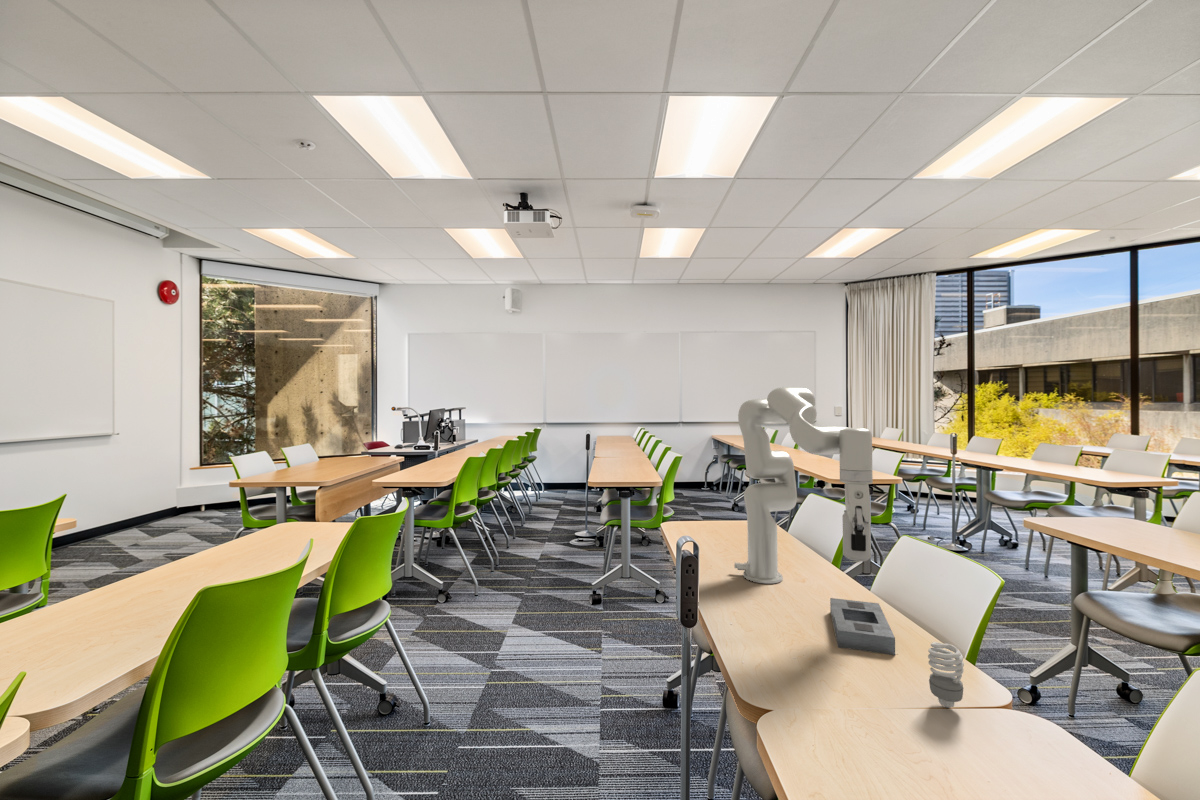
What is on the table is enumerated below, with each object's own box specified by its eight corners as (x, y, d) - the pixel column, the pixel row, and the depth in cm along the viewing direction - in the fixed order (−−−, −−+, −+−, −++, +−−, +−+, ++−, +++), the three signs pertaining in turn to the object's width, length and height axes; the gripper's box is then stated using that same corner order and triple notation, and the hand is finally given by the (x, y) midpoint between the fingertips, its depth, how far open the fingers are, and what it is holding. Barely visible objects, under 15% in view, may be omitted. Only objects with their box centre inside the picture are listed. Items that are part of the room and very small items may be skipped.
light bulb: (966, 707, 97) (965, 643, 97) (962, 720, 93) (960, 653, 93) (931, 695, 100) (931, 634, 101) (925, 708, 96) (924, 644, 97)
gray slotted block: (837, 647, 121) (837, 629, 121) (830, 612, 142) (830, 597, 142) (895, 655, 117) (895, 637, 117) (878, 618, 138) (878, 602, 138)
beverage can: (860, 563, 126) (859, 514, 126) (837, 556, 131) (836, 510, 132) (876, 559, 129) (875, 512, 129) (853, 553, 134) (853, 507, 135)
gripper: (877, 481, 121) (878, 557, 121) (867, 473, 137) (868, 540, 137) (843, 480, 123) (844, 554, 123) (836, 471, 140) (837, 537, 139)
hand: (856, 546), depth 130 cm, fingers closed on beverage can, 6 cm apart
